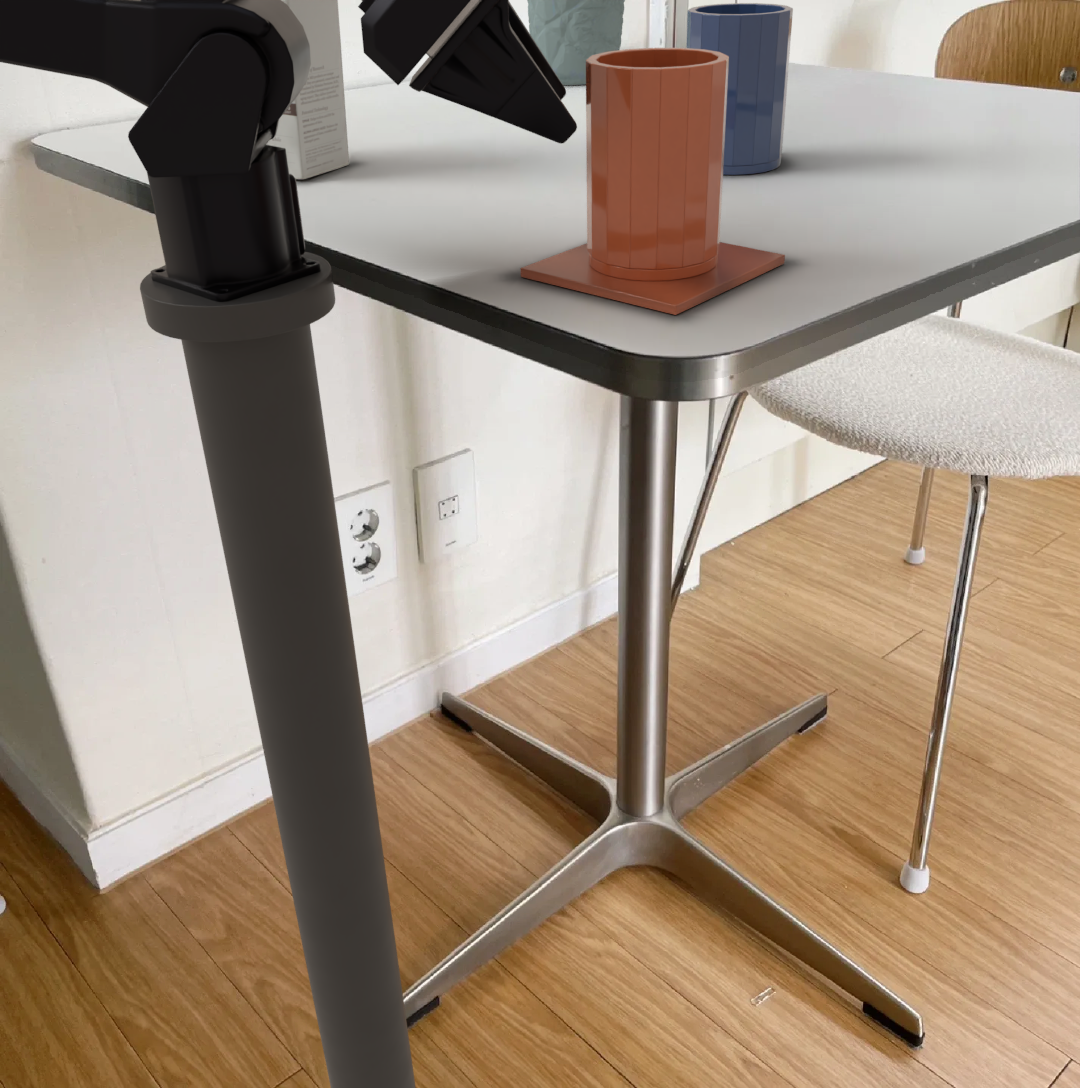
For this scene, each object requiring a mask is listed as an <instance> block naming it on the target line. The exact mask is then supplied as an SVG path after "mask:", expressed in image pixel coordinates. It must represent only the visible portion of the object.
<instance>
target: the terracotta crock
mask: <svg viewBox="0 0 1080 1088" xmlns="http://www.w3.org/2000/svg"><path fill="white" fill-rule="evenodd" d="M728 66H729V56H727V55H725V54H723V53H721V52H717V51H711V50H705V49H692V48H686V47H642V48H626V49H620V50H617V51H609V52H604V53H600V54H596V55H592V56H590V57H589V58H588V59H586V84H585V128H586V129H585V131H586V133H585V136H586V140H585V141H586V143H585V144H586V148H585V149H586V228H587V229H586V243H587V250H588V252H589V264H590V266H591V267H592V268H593V269H594V270H596V271H598V272H600V273H602V274H605V275H608V276H612V277H616V278H621V279H628V280H639V281H666V280H677V279H684V278H689V277H693V276H697V275H700V274H703V273H706V272H708V271H710V270H711V269H713V268H714V267H715V266H716V264H717V263H718V250H719V243H720V242H721V224H722V223H721V222H722V221H721V220H722V204H723V203H722V201H723V182H724V175H723V164H724V145H725V125H726V105H727V86H728Z"/></svg>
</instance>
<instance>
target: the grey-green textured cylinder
mask: <svg viewBox="0 0 1080 1088" xmlns="http://www.w3.org/2000/svg"><path fill="white" fill-rule="evenodd" d="M526 1H527V17H528V24H529V25H528V29H529V30H528V32H529V33H530V35H531V36H532V38H533V39H534V41H535V42H536V44H537V46H538V47H539V49H540V50H541V52H542V53H543V55H544V56H545V58H546V59H547V61H548V63H549V64H550V66H551V67H552V69H553V70H554V72H555V73H556V75H557V76H558V78H559V80H560V81H561V83H562V84H563V86H581V85H583V86H585V85H586V59H588V58H589V57H590V56H592V55H596V54H600V53H604V52H609V51H617V50H621V46H622V35H623V26H624V25H623V23H624V13H625V2H626V0H526Z"/></svg>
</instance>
